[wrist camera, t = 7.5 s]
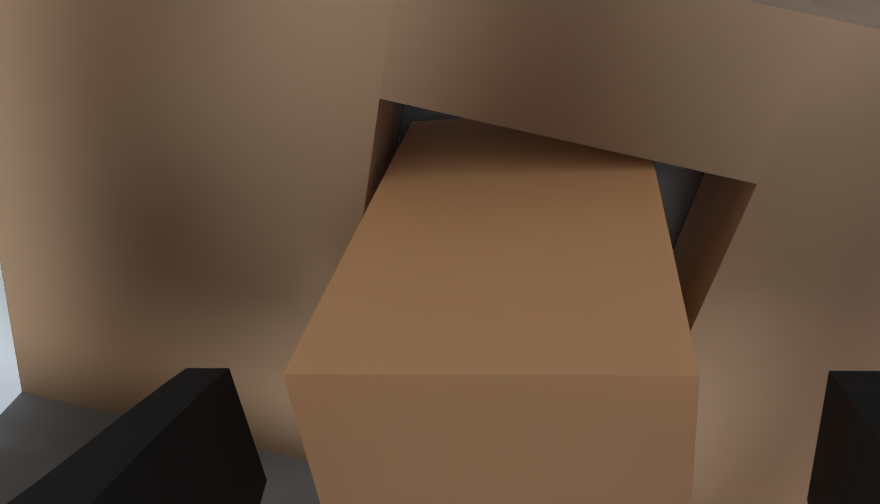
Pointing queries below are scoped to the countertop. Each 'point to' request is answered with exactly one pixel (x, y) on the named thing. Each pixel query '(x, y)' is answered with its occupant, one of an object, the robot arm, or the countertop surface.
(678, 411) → the peg
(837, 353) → the socket block
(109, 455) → the robot arm
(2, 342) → the countertop surface
